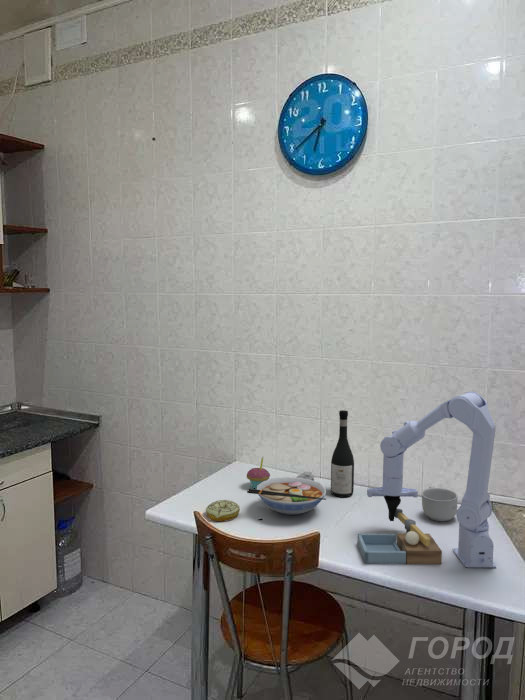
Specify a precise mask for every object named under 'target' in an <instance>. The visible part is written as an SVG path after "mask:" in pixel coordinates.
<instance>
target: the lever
mask: <svg viewBox="0 0 525 700" xmlns="http://www.w3.org/2000/svg"><path fill="white" fill-rule="evenodd" d="M403 512H404V511H403V509H401V508H397V509H396V511H395V514H394V519H398V520H399V521H400V522H401V523H402V524H403V525H404V530H409V531H414V532H416V533H417V534H418V536H419V540H420V541H421V542H422V543H423V544H424V545H425V546H430V539H429V538H428V537H427V536H426V535H425V534H426V533H424V532H423V531H422V530H421V529H420V528H419V527H418V526H417V525H416V524H417V521H415V520H414V519H411V518H410V519H409V518H408V517H407V516H406V514H404V513H403Z"/></svg>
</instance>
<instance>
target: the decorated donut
mask: <svg viewBox="0 0 525 700" xmlns="http://www.w3.org/2000/svg"><path fill="white" fill-rule="evenodd" d="M240 510H241V509H240V505H239V504H238V503H237V502H235V501H233V500H229V499H219V500H216V501H213V502H211V503H210V504H208V505H207V506H206V507H205V513H206V516H207V518H208V519H209V520H210V519H211V520H210V521H213V520H215V521H214V522H226V521H225V520H228V521H231V520H234V519H236V517H238V515H239V514H240Z"/></svg>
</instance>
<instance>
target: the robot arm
mask: <svg viewBox="0 0 525 700" xmlns="http://www.w3.org/2000/svg"><path fill="white" fill-rule="evenodd" d="M452 418H454V419H456V420H457V421H459V422H460V423H462V424H463V425H465V426H466V427H467V428H468V429H469V430H470V431H471V433H472V441H471V447H470V448H471V449H470V455H469V463H468V464H469V465H468V475H467V480H466V489H465V491H464V494H463V497H462V498H461V504H460V506H459V507H457V513H456V515H455V516H456V520H457V522H458V524H459V525H458V542H457V543H458V544H457V545H458V547H453V548H452V551H453V553H454V554H455V555H456V557H457V558H458V559H459V561H460V562H461V563H462V565H463V566H464V567H465V568H497V565H496V564H495V562H494V542H493V540H492V538H491V537H490V534H489V531H490V530H489V529H490V528H489V527H490V525H489V522H488V518H490V517H491V515H492V513H493V509H492V505H491V502H490V501H491V500H490V499H491V495H490V493H489V492H488V491H489V483H490V482H489V481H490V475H491V467H492V466H491V465H492V460H493V459H492V458H493V452H494V444H495V437H496V436H495V435H496V423H495V422H494V421H495V420H494V418H493V417H492V414H491V412H490V410H489V404H488V401H487V400H486V399H485V398H484V397H483V396H482V395H481V394H479V393H478V392H476V391H466V392H465V393H463V394H461V395H455V396H454V397H451V399H449V400H447V401H444V402H443V403H441V404H439V405H437V406H436V407H434V409H432V410H431V411H430V412H428V413H427V414H426V415H424V416H423V417H422V418H421V419H419V420H418V421H417V420H414V419H413V420H410V421H409V420H406V421H404V422H403V426H402V427H400V428H398V429H397V430H396V429H395V430H393V431H392V432H391V433H392V435H389V436H385V437H384V438H383V439H382V440H381V442H380V444H379V445H380V446H379V448H380V451H381V453H382V454H383V460H382V461H383V462H382V463H383V464H382V486H378V487H374V488H373V487H372V488H371V487H370V488H366V491H367V492H366V495H367V497H368V498H372V497H383V498H384V500H385V503H386V506H387V510H388V520H389V522H395V517H394V514H395V511H396V509H398V507H400V506H399V505H400V504H401V501H402V500H401V499H402V497H404V498H405V497H408V498H409V497H412V498H418V493H419V492H418V490H417V489H416V488H409V487H408V488H406V487H403V481H404V477H403V476H404V455H405V452H406V451H407V449H409V448H410V447H412V446H413V445H415V444H417V442H420V441H421V440H422V439H424V438H425V435H426V431H427V430H429V429H430V428H432V427H433V426H435V425H436V424H438V423H439V422H441V421H443V420H445V419H452Z"/></svg>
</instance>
